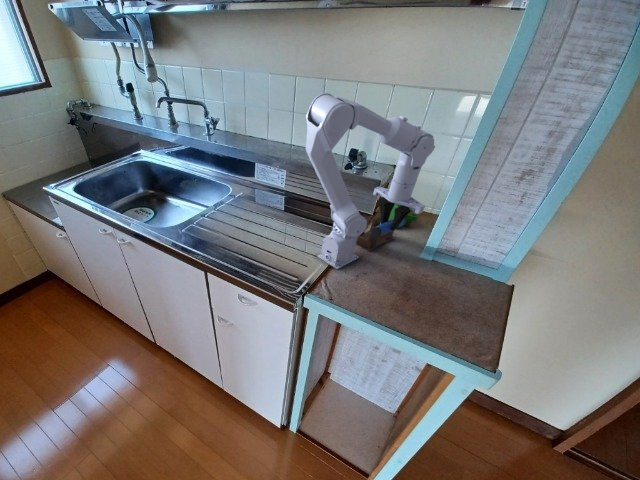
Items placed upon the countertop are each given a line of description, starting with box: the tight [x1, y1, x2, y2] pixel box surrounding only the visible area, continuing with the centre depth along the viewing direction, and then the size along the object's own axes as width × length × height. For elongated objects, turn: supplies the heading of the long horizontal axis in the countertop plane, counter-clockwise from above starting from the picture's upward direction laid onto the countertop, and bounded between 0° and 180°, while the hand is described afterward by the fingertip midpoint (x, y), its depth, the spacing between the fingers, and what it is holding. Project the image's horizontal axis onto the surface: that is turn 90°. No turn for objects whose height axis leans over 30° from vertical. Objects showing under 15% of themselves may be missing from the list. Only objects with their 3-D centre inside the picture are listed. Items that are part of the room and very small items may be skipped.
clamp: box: [388, 204, 419, 229], centre depth 110 cm, size 12×6×9 cm, turn 170°
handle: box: [371, 218, 406, 238], centre depth 94 cm, size 12×3×3 cm, turn 124°
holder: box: [356, 214, 395, 252], centre depth 102 cm, size 11×7×6 cm, turn 125°
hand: (388, 226), depth 94 cm, fingers closed on handle, 3 cm apart
